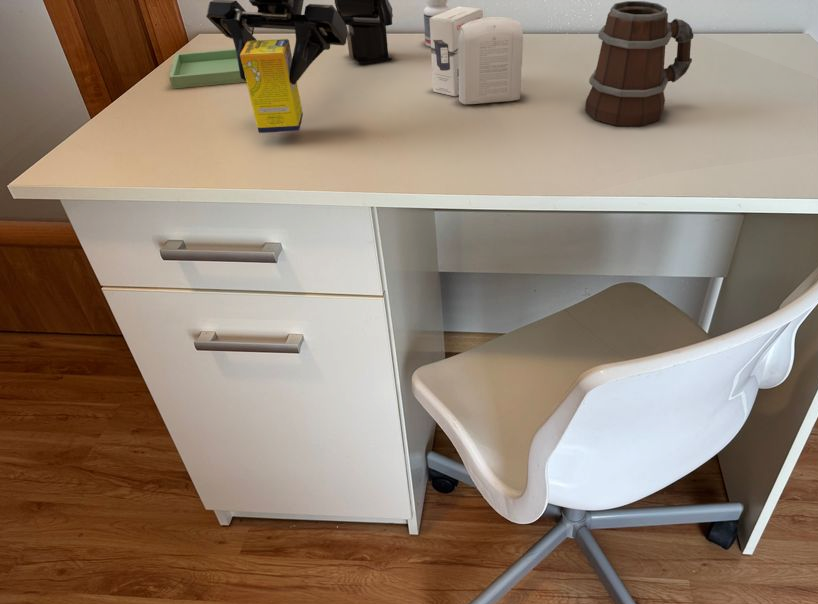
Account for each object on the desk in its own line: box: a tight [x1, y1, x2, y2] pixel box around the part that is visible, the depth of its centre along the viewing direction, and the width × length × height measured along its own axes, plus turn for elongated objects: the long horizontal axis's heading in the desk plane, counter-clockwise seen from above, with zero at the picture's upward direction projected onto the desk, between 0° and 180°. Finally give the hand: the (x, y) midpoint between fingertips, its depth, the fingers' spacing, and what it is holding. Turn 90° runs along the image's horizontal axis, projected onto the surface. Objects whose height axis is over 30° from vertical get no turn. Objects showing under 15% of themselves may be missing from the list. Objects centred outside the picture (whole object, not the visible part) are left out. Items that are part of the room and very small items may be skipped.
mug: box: [584, 0, 694, 127], centre depth 100 cm, size 16×12×15 cm
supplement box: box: [240, 38, 304, 134], centre depth 94 cm, size 6×6×11 cm
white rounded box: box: [458, 16, 524, 105], centre depth 105 cm, size 10×4×12 cm, turn 103°
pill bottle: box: [423, 0, 451, 48], centre depth 130 cm, size 5×5×9 cm
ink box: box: [430, 5, 484, 97], centre depth 110 cm, size 8×5×12 cm, turn 146°
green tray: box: [168, 48, 247, 90], centre depth 121 cm, size 13×13×2 cm
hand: (267, 81), depth 93 cm, fingers closed on supplement box, 7 cm apart
